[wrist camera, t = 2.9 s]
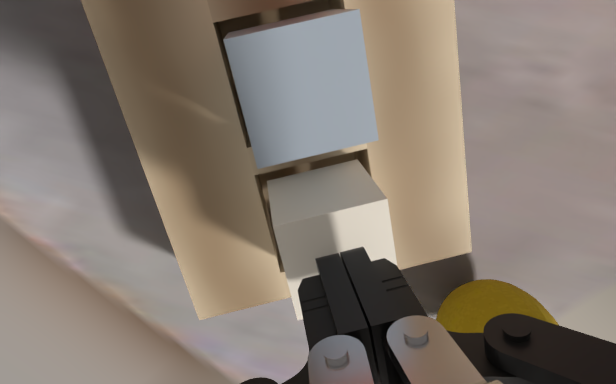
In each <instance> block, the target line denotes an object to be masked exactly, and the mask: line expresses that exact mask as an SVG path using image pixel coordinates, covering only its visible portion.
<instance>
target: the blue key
mask: <svg viewBox="0 0 616 384" xmlns="http://www.w3.org/2000/svg"><path fill="white" fill-rule="evenodd" d="M223 40H224V44H225V48H226V51H227V55H228V59H229V63H230V67H231V70H232V74H233V78H234V82H235V85H236V89H237V93H238V97H239V101H240V104H241V108H242V112H243V116H244V119H245V123H246V127H247V131H248V135H249V138H250V142H251V146H252V150H253V154H254V157H255V161H256V165H257V169H260V168H264V167H268V166H272V165H277V164H281V163H285V162H289V161H293V160H298V159H302V158H306V157H310V156H314V155H319V154H323V153H327V152H331V151H335V150H340V149H344V148H348V147H352V146H357V145H361V144H365V143H369V142H373V141H378V140H379V138H378V131H377V125H376V118H375V111H374V104H373V97H372V91H371V84H370V77H369V70H368V63H367V57H366V50H365V43H364V36H363V30H362V23H361V16H360V9H331V10H326V11H322V12H317V13H313V14H308V15H304V16H299V17H295V18H290V19H286V20H282V21H277V22H273V23H268V24H264V25H259V26H255V27H250V28H246V29H241V30H237V31H232V32H228V34H227V35H226V37H225V38H224V39H223Z"/></svg>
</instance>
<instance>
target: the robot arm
mask: <svg viewBox="0 0 616 384" xmlns="http://www.w3.org/2000/svg"><path fill="white" fill-rule="evenodd" d="M315 260H316V265H317V269H318V273H319V275H316V276H312V277H308V278H304V279H302V281H301V283H300V286H299V288H298V295H299V300H300V305H301V310H302V315H303V320H304V325H305V330H306V335H307V340H308V345H309V355H308V361H307V363H306V365H305V366H304V367H303V369H302V370H301V371H300V372H299V373H298V374H296V375H295V376H294V377H292V378H291V379H289V380H287V381H285V382H284V383H282V384H616V344H615V343H612V342H609V341H605V340H602V339H599V338H596V337H593V336H590V335H587V334H584V333H581V332H577V331H574V330H571V329H568V328H565V327H562V326H559V325H555V324H552V323H549V322H546V321H543V320H540V319H537V318H534V317H530V316H527V315H523V314H516V313H508V314H501V315H498V316H495V317H493V318H491V319H490V320H489V321H488V322H487V323H486V324H485V326H484V330H483V333H458V332H452V331H448V330H446V329H445V328H444V327H443V326H442V325H441V324H440V323H439V322H438V321H436V320H435V319H433V318H430V317H428V316H427V314H426V313H425V311H424V309H423V308H422V306H421V304H420V303H419V301H418V300H417V298H416V296H415V295H414V293H413V291H412V290H411V288H410V286H408V283H407V281H406V280H405V278H403V275H402V273H401V272H400V270H399V268H398V267H397V265H395V264H394V263H392V262H390V261H389V260H387V259H385V258H383V259H379V260H375V261H371V260H370V258H369V256H368V254H367V252H366V250H365V248H364V247H359V248H355V249H351V250H347V251H343V252H340V255H339V253H335V254H331V255H327V256H323V257H319V258H315ZM240 384H278V383H277V382H275V381H274V380H271V379H268V378H253V379H250V380H247V381H244V382H242V383H240Z"/></svg>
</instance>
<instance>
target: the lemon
mask: <svg viewBox="0 0 616 384" xmlns="http://www.w3.org/2000/svg"><path fill="white" fill-rule="evenodd" d="M508 313H516V314H523V315H527V316H530V317H534V318H537V319H540V320H543V321H546V322H549V323H552V324H555V325H558V323H557V322H556V321H555V319H554V318H553V317H552V316H551V314H550V313H549V312H548V311H547V310H546V309H545V308H544V307H543V306H542V305H541V303H539V302H538V301H537V300H536V299H535V298H534V297H532V296H531V295H530V294H528V293H526V292H525V291H523V290H521V289H519V288H518V287H516V286H514V285H512V284H509V283H506V282H502V281H497V280H491V279H489V280H476V281H472V282H468V283H466V284H463V285H461V286H459V287H458V288H456V289H455V290H454V291H452V292H451V293H450V294H449V295H448V296H447V297H446V299H445V300H444V301H443V303H442V305H441V307H440V309H439V311H438V314H437V318H436V321H438V322H439V323H440V324H441V325H442V326H443V327H444V328H445V329H446V330H448V331H452V332H458V333H483V330H484V326H485V324H486V323H487V322H488V321H489V320H490V319H491V318H493V317H495V316H498V315H501V314H508Z"/></svg>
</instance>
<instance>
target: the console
mask: <svg viewBox="0 0 616 384" xmlns="http://www.w3.org/2000/svg"><path fill="white" fill-rule="evenodd" d="M81 2H82V5H83V8H84V10H85V13H86V16H87V18H88V21H89V24H90V27H91V29H92V32H93V35H94V37H95V40H96V43H97V45H98V48H99V51H100V53H101V56H102V59H103V62H104V64H105V67H106V70H107V72H108V75H109V78H110V80H111V83H112V86H113V89H114V91H115V94H116V97H117V99H118V102H119V105H120V107H121V110H122V113H123V116H124V118H125V121H126V124H127V126H128V129H129V132H130V134H131V137H132V140H133V143H134V145H135V148H136V151H137V153H138V156H139V159H140V161H141V164H142V167H143V169H144V172H145V175H146V178H147V180H148V183H149V186H150V188H151V191H152V194H153V196H154V199H155V202H156V205H157V207H158V210H159V213H160V215H161V218H162V221H163V223H164V226H165V229H166V232H167V234H168V237H169V240H170V242H171V245H172V248H173V250H174V253H175V256H176V259H177V261H178V264H179V267H180V269H181V272H182V275H183V277H184V280H185V283H186V285H187V288H188V291H189V294H190V296H191V299H192V302H193V304H194V307H195V310H196V312H197V315H198V318H199V320H202V319H206V318H210V317H214V316H218V315H222V314H226V313H230V312H234V311H238V310H242V309H246V308H250V307H254V306H258V305H262V304H266V303H270V302H274V301H278V300H282V299H286V298H290V297H291V294H290V290H289V286H288V282H287V278H286V275H285V271H284V267H283V263H282V259H281V256H280V252H279V248H278V244H277V241H276V237H275V233H274V229H273V224H272V217H271V209H270V201H269V194H268V186H267V181H268V180H273V179H277V178H281V177H285V176H289V175H293V174H298V173H302V172H306V171H310V170H314V169H319V168H323V167H327V166H331V165H335V164H340V163H344V162H348V161H352V160H356V159H358V161H359V162H360V163H361V164H362V166H363V167H364V168H365V170H366V171H367V172H368V174H369V175H370V176H371V178H372V179H373V180H374V182H375V183H376V184H377V186H378V187H379V188H380V190H381V191H382V192H383V194H384V195H385V196H386V198H387V199H388V206H389V213H390V219H391V226H392V233H393V240H394V247H395V253H396V260H397V267H398V268H399V270H401V269H405V268H409V267H413V266H417V265H421V264H425V263H429V262H433V261H437V260H441V259H445V258H449V257H453V256H457V255H461V254H465V253H469V252H472V248H471V233H470V219H469V205H468V191H467V177H466V162H465V148H464V134H463V120H462V106H461V91H460V77H459V63H458V49H457V35H456V20H455V6H454V0H81ZM331 9H360V16H361V23H362V30H363V36H364V43H365V50H366V57H367V63H368V70H369V77H370V84H371V91H372V97H373V104H374V111H375V118H376V125H377V131H378V138H379V140H378V141H373V142H369V143H365V144H361V145H357V146H352V147H348V148H344V149H340V150H335V151H331V152H327V153H323V154H319V155H314V156H310V157H306V158H302V159H298V160H293V161H289V162H285V163H281V164H277V165H272V166H268V167H264V168H260V169H257V165H256V161H255V157H254V154H253V150H252V146H251V142H250V138H249V135H248V131H247V127H246V123H245V119H244V116H243V112H242V108H241V104H240V101H239V97H238V93H237V89H236V85H235V82H234V78H233V74H232V70H231V67H230V63H229V59H228V55H227V51H226V48H225V44H224V40H223V39H224V38H225V37H226V35H227V34H228V32H232V31H237V30H241V29H246V28H250V27H255V26H259V25H264V24H268V23H273V22H277V21H282V20H286V19H290V18H295V17H299V16H304V15H308V14H313V13H317V12H322V11H326V10H331Z"/></svg>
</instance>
